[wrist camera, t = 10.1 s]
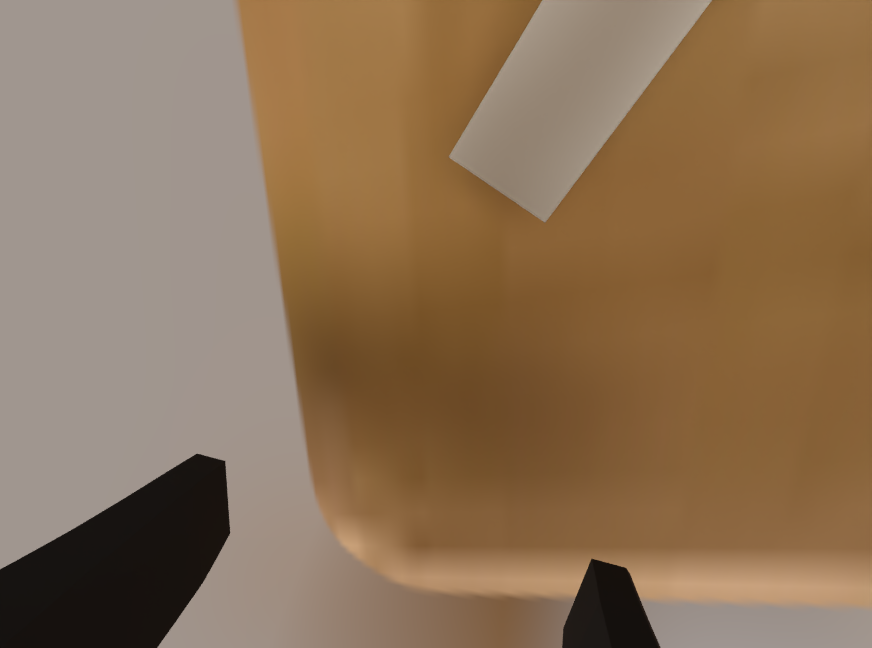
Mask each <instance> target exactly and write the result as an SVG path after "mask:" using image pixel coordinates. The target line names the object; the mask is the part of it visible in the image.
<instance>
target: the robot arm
mask: <svg viewBox="0 0 872 648" xmlns="http://www.w3.org/2000/svg"><path fill="white" fill-rule="evenodd" d="M229 534H230V525H229V510H228V497H227V481H226V467H225V461H223V460H218V459H215V458H211V457H208V456H204V455H200V454H196V455H194V456H192V457H191V458H189V459H187V460H186V461H184V462H182V463H181V464H179V465H178V466H176V467H174V468H173V469H171V470H169V471H168V472H166V473H165V474H163V475H161V476H160V477H158V478H156V479H155V480H153V481H152V482H150V483H148V484H147V485H145V486H144V487H142V488H140V489H139V490H137V491H136V492H134V493H132V494H131V495H129V496H128V497H126V498H124V499H123V500H121V501H119V502H118V503H116V504H114V505H113V506H111V507H109V508H108V509H106V510H104V511H103V512H101V513H99V514H98V515H96V516H94V517H93V518H91V519H89V520H88V521H86V522H84V523H83V524H81V525H79V526H78V527H76V528H74V529H72V530H71V531H69V532H67V533H65V534H64V535H62V536H60V537H58V538H56V539H55V540H53V541H51V542H50V543H48V544H46V545H44V546H42V547H40V548H38V549H37V550H35V551H33V552H31V553H29V554H28V555H26V556H24V557H22V558H21V559H19V560H17V561H15V562H13V563H11V564H9V565H8V566H6V567H4V568H2V569H0V648H157V647H158V646H159V644H160V643H161V641H162V640H163V639H164V637H165V636H166V634H167V633H168V632H169V630H170V629H171V627H172V626H173V625H174V623H175V622H176V620H177V619H178V617H179V616H180V615H181V613H182V612H183V610H184V609H185V607H186V606H187V605H188V603H189V602H190V600H191V599H192V598H193V596H194V595H195V593H196V591H197V590H198V589H199V587H200V586H201V584H202V583H203V581H204V580H205V578H206V576H207V574H208V572H209V571H210V569H211V567H212V565H213V564H214V562H215V560H216V558H217V556H218V554H219V553H220V551H221V549H222V547H223V545H224V543H225V542H226V540H227V538H228V536H229ZM562 648H660V646H659V643H658V641H657V639H656V636H655V634H654V632H653V630H652V627H651V625H650V622H649V620H648V618H647V615H646V613H645V611H644V608H643V606H642V603H641V601H640V598H639V596H638V593H637V591H636V588H635V586H634V583H633V581H632V578H631V575H630V573H629V572H628V570H627V569H626V568H624V567H621V566H617V565H613V564H609V563H606V562H602V561H598V560H594V559H591V562H590V564H589V567H588V569H587V571H586V574H585V576H584V579H583V581H582V584H581V586H580V589H579V591H578V594H577V596H576V598H575V601H574V603H573V606H572V608H571V611H570V613H569V616H568V618H567V621H566V623H565V625H564V629H563V646H562Z"/></svg>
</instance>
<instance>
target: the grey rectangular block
mask: <svg viewBox="0 0 872 648" xmlns="http://www.w3.org/2000/svg"><path fill="white" fill-rule="evenodd" d="M711 1H712V0H542V2H541V4H540V5H539V7H538V9H537V10H536V12H535V14H534V15H533V17H532V19H531V20H530V22H529V24H528V25H527V27H526V29H525V30H524V32H523V34H522V35H521V37H520V39H519V40H518V42H517V44H516V45H515V47H514V49H513V50H512V52H511V54H510V55H509V57H508V59H507V60H506V62H505V64H504V65H503V67H502V69H501V70H500V72H499V74H498V75H497V77H496V79H495V80H494V82H493V84H492V85H491V87H490V89H489V90H488V92H487V94H486V96H485V97H484V99H483V101H482V102H481V104H480V106H479V107H478V109H477V111H476V112H475V114H474V116H473V117H472V119H471V121H470V122H469V124H468V126H467V127H466V129H465V131H464V132H463V134H462V136H461V137H460V139H459V141H458V142H457V144H456V146H455V147H454V149H453V151H452V152H451V154H450V156H449V158H451V159H452V160H454V161H455V162H457V163H458V164H460V165H461V166H463V167H464V168H465V169H467V170H468V171H470V172H471V173H473V174H474V175H476V176H477V177H479V178H480V179H482V180H483V181H485V182H486V183H487V184H489V185H490V186H492V187H493V188H495V189H496V190H498V191H499V192H501V193H502V194H504V195H505V196H507V197H508V198H510V199H511V200H512V201H514V202H515V203H517V204H518V205H520V206H521V207H523V208H524V209H526V210H527V211H529V212H530V213H532V214H533V215H534V216H536V217H537V218H539V219H540V220H542V221H543V222H546V221H547V219H548V218H549V217H550V215H551V214H552V213H553V211H554V210H555V209H556V207H557V206H558V205H559V203H560V202H561V201H562V199H563V198H564V197H565V195H566V194H567V193H568V191H569V190H570V189H571V187H572V186H573V185H574V183H575V182H576V181H577V179H578V178H579V177H580V175H581V174H582V173H583V171H584V170H585V169H586V167H587V166H588V165H589V163H590V162H591V161H592V159H593V158H594V157H595V155H596V154H597V153H598V151H599V150H600V149H601V147H602V146H603V145H604V143H605V142H606V141H607V139H608V138H609V137H610V135H611V134H612V133H613V131H614V130H615V129H616V127H617V126H618V125H619V123H620V122H621V121H622V119H623V118H624V117H625V115H626V114H627V113H628V111H629V110H630V109H631V107H632V106H633V105H634V103H635V102H636V101H637V99H638V98H639V97H640V95H641V94H642V93H643V91H644V90H645V89H646V87H647V86H648V85H649V83H650V82H651V81H652V79H653V78H654V77H655V75H656V74H657V73H658V71H659V70H660V69H661V67H662V66H663V65H664V63H665V62H666V61H667V59H668V58H669V57H670V55H671V54H672V53H673V51H674V50H675V49H676V47H677V46H678V45H679V43H680V42H681V41H682V39H683V38H684V37H685V35H686V34H687V33H688V31H689V30H690V29H691V27H692V26H693V25H694V23H695V22H696V21H697V19H698V18H699V17H700V16H701V14H702V13H703V12H704V10H705V9H706V8H707V6H708V5H709V4H710V2H711Z"/></svg>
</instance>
